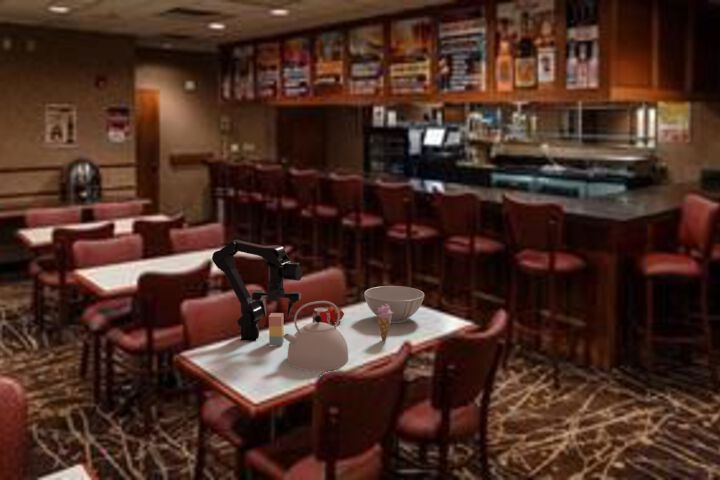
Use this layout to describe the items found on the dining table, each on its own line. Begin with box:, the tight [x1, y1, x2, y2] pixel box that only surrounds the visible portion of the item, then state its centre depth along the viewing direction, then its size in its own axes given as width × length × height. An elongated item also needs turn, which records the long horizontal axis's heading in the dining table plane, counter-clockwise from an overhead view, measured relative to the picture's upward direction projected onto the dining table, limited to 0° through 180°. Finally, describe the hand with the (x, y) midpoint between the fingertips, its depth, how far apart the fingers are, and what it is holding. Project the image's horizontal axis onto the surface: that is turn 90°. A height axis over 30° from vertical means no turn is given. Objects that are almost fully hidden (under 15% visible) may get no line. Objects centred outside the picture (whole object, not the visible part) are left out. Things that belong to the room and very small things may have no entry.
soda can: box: [312, 307, 331, 325], centre depth 277 cm, size 7×7×12 cm
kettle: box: [283, 300, 350, 371], centre depth 250 cm, size 25×23×22 cm
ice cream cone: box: [375, 304, 393, 342], centre depth 274 cm, size 7×6×15 cm
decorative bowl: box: [363, 285, 425, 324], centre depth 304 cm, size 27×27×12 cm
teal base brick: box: [268, 333, 285, 347], centre depth 270 cm, size 5×5×4 cm
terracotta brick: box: [268, 312, 285, 327], centre depth 268 cm, size 5×5×4 cm
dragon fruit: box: [324, 305, 345, 325], centre depth 298 cm, size 8×8×12 cm
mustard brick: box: [268, 324, 285, 337], centre depth 269 cm, size 5×5×4 cm
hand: (276, 316), depth 269 cm, fingers open, 9 cm apart
